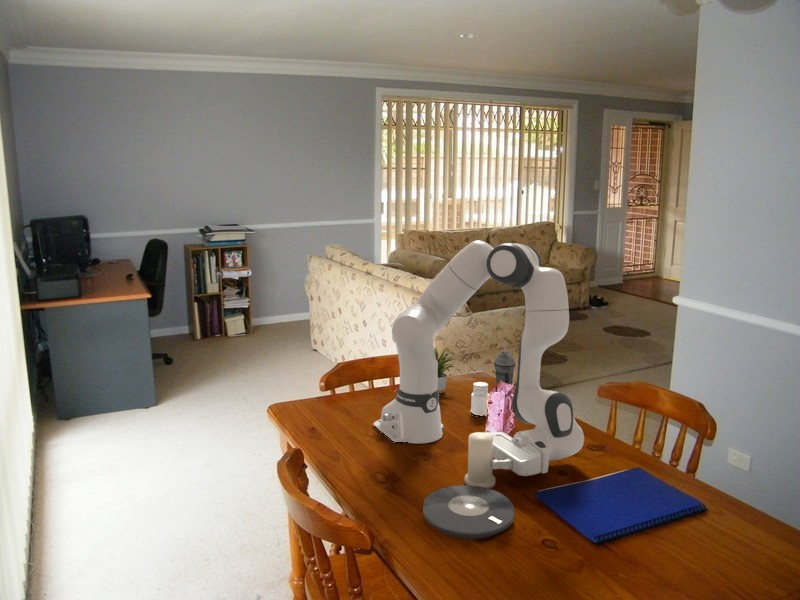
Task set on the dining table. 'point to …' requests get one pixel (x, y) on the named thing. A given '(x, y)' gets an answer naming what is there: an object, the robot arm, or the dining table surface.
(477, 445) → the white flanged cylinder
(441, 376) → the house plant
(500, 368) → the beverage cup
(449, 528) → the turntable
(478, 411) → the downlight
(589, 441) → the dining table surface
